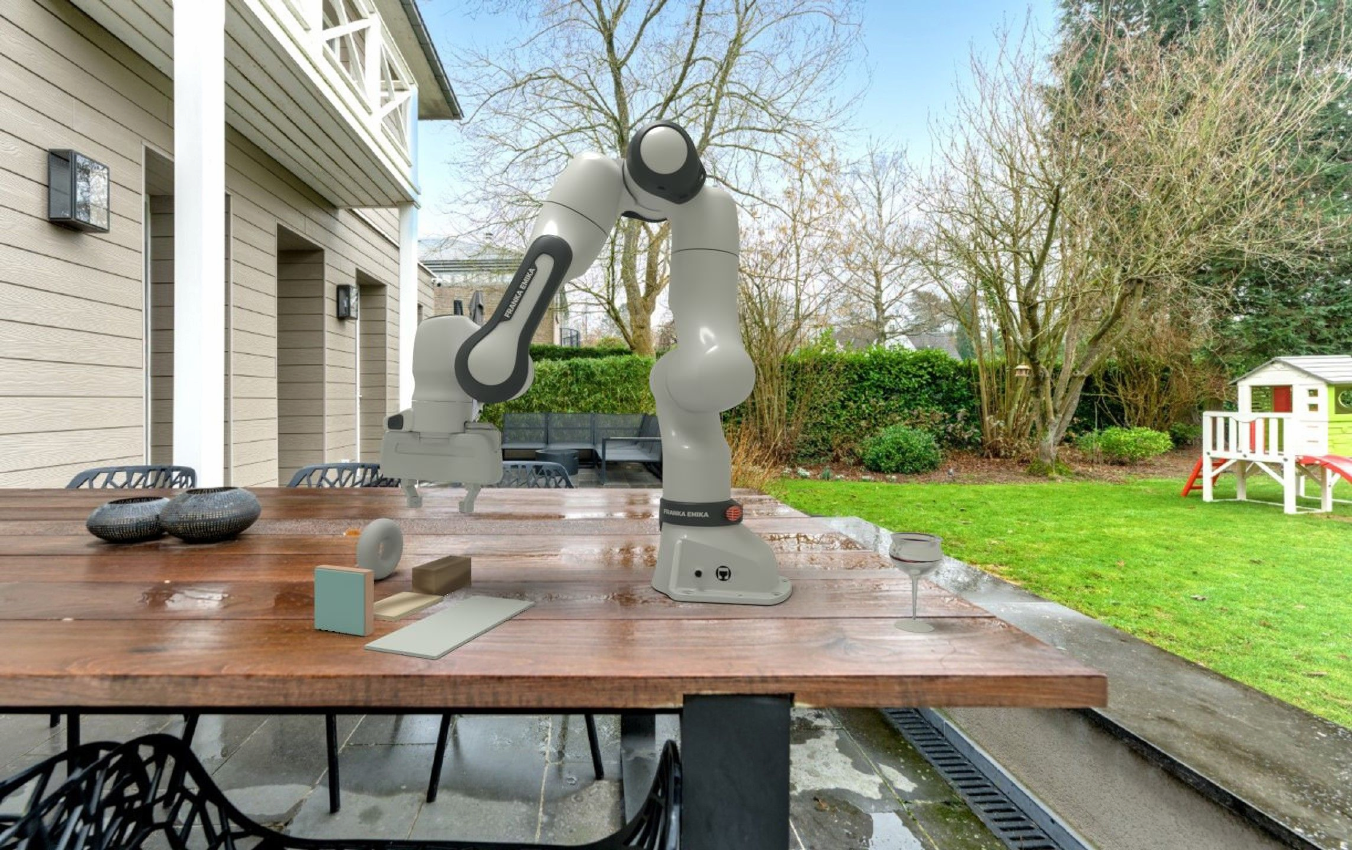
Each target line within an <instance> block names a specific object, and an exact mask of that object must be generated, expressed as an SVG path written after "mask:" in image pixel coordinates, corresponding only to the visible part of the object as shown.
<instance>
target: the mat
mask: <svg viewBox="0 0 1352 850" xmlns="http://www.w3.org/2000/svg"><path fill="white" fill-rule="evenodd" d="M533 605H534V606H535V605H536V602H535V601H530V600H529V601H528V600H519V599H513V598H505V597H504V598H502V597H495V596H484V595H473V596H471V597H468V598H466V599H464V600H462V601H460V602H457V603H455V604H453V605H451V606H449V607H446V608H444V609H442V610H440V611H437V612H435V613H433V614H431V615H429V616H427V617H424V618H422V619H419V620H418V621H415V622H413V623H411V624H409V625H406V626H404V627H402V628H399V629H398V630H395V631H393V632H391V633H388V634H386V635H384V636H381V637H380V638H378V639H375V640H373V641H370V642H368V643H365V645H364V646H363V649H364V650H369V651H377V652H384V653H389V654H395V655H396V654H397V655H402V654H403V656H408V657H414V658H415V657H416V658H424V659H429V660H435V661H436V660H438V659H440V658H441V657H444V656H445V655H447V654H449V653H451V652H452V651H454V650H456V649H458V648H459V647H462V646H463V645H465V644H467V643H468V641H469V642H470V641H472V640H474V639H476V638H477V636H478V637H480V636H481V635H483V634H484V633H485V634H486V633H487V632H488V631H490V630H492V629H494V628H496V627H497V626H499V625H501V624H503V623H505V622H507V621H508V620H510V619H512V618H514V617H516V616H517V615H519V614H521V613H523V612H525V611H526V610H528V609H530V608H532V607H534V606H533ZM524 610H525V611H524ZM522 611H523V612H522ZM520 612H521V613H520ZM515 615H516V616H515ZM513 616H514V617H513ZM511 617H512V618H511ZM506 620H507V621H506ZM504 621H505V622H504ZM486 631H487V632H486ZM475 637H476V638H475ZM473 638H474V639H473ZM457 647H458V648H457Z"/></svg>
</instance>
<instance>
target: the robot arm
mask: <svg viewBox="0 0 1352 850" xmlns="http://www.w3.org/2000/svg"><path fill="white" fill-rule="evenodd" d="M707 176H708V175H707V171H706V168H705V166H704V164H703V163H702V160H701V158H700V156H699V153H698V150H697V148H696V145H695V143H694V140H693V139H692V137H691V135H690V134H689V132H688V131H687V130H686V129H685V128H684V127H682V125H680V124H678V123H677V122H675V121H671V120H666V119H657V120H653V121H651V122H648V123H646V124H644V125H642V126H641V127H640V128H639V129H638V130H637V131H636V132H635V133H634V135H633V136H632V137H631V139H630V141H629V143H628V145H627V149H626V155H625V158H624V157H621V158H611V157H609V156H608V155H606V154H604V153H602V152H598V151H594V150H593V151H592V150H587V151H582V152H580V153H577V154H576V155H575V156H574V157H573V158H572V160H571V161H570V162H569V163H568V164H567V166H566V167H565V168H564V169H563V171H562V172H561V173H560V174H559V176H558V178H557V180H556V182H555V183H554V184H553V186H552V188H551V189H550V191H549V193H548V194H547V197H546V199H545V200H544V202H543V204H542V206H541V207H540V208H541V209H540V210H539V212H538V214H537V217H536V219H535V222H534V225H533V227H532V230H531V233H530V235H529V238H528V242H527V246H526V249H525V251H524V253H523V256H522V260H521V262H520V265H519V266H518V268H517V270H516V272H515V274H514V276H513V277H512V279H511V281H510V282H509V284H508V286H507V288H506V289H505V292H504V293H503V295H502V297H501V299H500V301H499V303H498V304H497V306H496V309H494V312H493V313H492V315H491V317H490V318H489V319H488V321H486V322H485V324H484V325H483V326H480V325H479V324H477V323H475V322H474V321H473V320H472V319H470V318H469V316H467V315H464V314H460V313H459V314H457V313H455V314H452V313H447V314H439V315H438V314H437V315H433V316H430V317H427V318H424V319H423V320H422V321H420V323H419V324H418V326H417V328H416V331H415V335H414V342H413V348H412V349H413V352H412V364H411V365H412V368H411V370H412V371H411V372H412V375H413V379H414V380H413V381H414V389H413V392H412V396H411V407H409V408H406V409H403V410H401V411H398V412H396V413H392V414H390V415H386V416H385V417H383V419H382V429H383V430H384V431H387V432H385V433H384V434H383V435H382V439H381V442H380V451H379V468H380V469H379V470H380V472H381V474H382V475H383V477H384V478H389V479H390V478H391V479H400V486H401V489H402V490H403V493H404V494H405V495H404V496H406V507H407V509H415V510H416V509H421V508H422V507H423V496H422V495H419V494H418V491H417V488H416V486H418V481H429V482H431V481H432V482H446V483H456V484H457V483H461V484H465V485H464V490H465V491H467V493H466V495H465V497H464V499H463V500H460V501H459V500H458V507H459V508H458V512H459V513H461V514H471V513H473V512H474V509H475V507H474V506H475V501H476V499H477V497H478V496H479V494H480V492H481V491H482V485H487V486H488V485H494V484H498V483H500V482H501V480H502V478H503V477H504V465H503V464H504V462H503V454H502V432H501V430H499V428H498V427H497V426H496V425H494V423H492V422H479V421H478V422H477V421H473V400H476V401H477V402H480V403H483V404H490V405H491V404H493V405H495V404H500V403H504V402H507V401H512V400H515V399H517V398H519V397H521V396H522V395H524V394H525V393H527V391H528V390H529V389H530V388H531V386H532V385H533V383H534V380H535V375H536V368H535V364H534V363H535V362H534V361H533V359H532V357H531V355H530V348H531V343H532V341H533V339H534V337H535V334H536V332H537V331H538V329H539V328H540V325H541V324H542V322H543V319H544V318H545V316H546V313H547V312H548V310H549V308H550V306H551V304H552V303H553V300H554V299H555V297H556V295H557V294H559V293H558V292H559V291H560V290H561V289H562V288H563V287H564V286H566V284H567V283H569V282H571V281H573V280H574V279H576V278H581V277H582V276H583V275H585V274H586V273H587V271H588V270H589V269H590V268H591V266H592V265H593V264H594V262H595V261H596V260H597V258H598V257H599V255H600V254H601V252H602V250H603V248H604V247H605V245H606V244H607V241H608V238H609V236H610V234H611V232H612V230H613V229H614V226H615V224H616V223H617V221H618V219H619V218H620V216H622V217H624V218H628V219H632V220H633V219H634V220H638V221H641V222H645V223H648V224H649V223H650V224H660V223H664V222H666V221H668V223H669V227H670V230H671V231H670V232H671V233H670V234H671V245H670V246H671V249H670V260H669V261H670V263H669V277H668V278H669V280H668V298H667V304H668V308H669V310H670V311H671V314H672V317H673V320H674V321H673V322H674V326H675V328H674V329H675V335H676V343H677V345H676V348H673V349H670V350H668V351H667V352H665V353H664V354H663V355H662V356H660V358H659V359H657V361H656V362H655V363H654V364H653V366H652V367H651V369H650V374H649V377H648V378H649V381H648V383H649V388H650V391H651V393H652V395H653V398H654V402H655V409H656V416H657V421H658V426H659V433H660V438H661V447H662V450H661V451H662V496H661V497H660V499H659V508H658V525H659V526H658V527H659V532H660V537H659V538H660V539H659V540H660V541H659V547H658V555H657V561H656V565H655V570H654V573H653V576H652V579H651V583H650V584H651V586H652V588H654V589H655V590H656V591H659V592H661V593H663V594H665V595H668V597H669V598H670V599H672V600H674V601H678V602H679V601H680V602H700V603H702V602H703V603H704V602H705V603H720V604H721V603H722V604H743V605H744V604H746V605H747V604H748V605H765V606H766V605H767V606H769V605H776V604H780V603H781V602H784V601H786V600H787V599H789V597H790V596H791V595H792V592H793V584H792V582H791V580H790V579H789V578H787V577H785V576H782V575H779V568H778V561H777V557H776V553H775V551H774V549H773V547H771V545H770V544H768V543H767V542H766V541H764V540H763V539H762V538H761V537H759V536H758V535H757V534H756V533H755V532H753V531H752V530H751V529H750V528H749V527H748V526H746V525H745V524H744V523H743V522H744V520H743V519H744V510H745V508H744V507H745V505H744V503H743V502H741V503H739V502H738V501H736V500H734V499H733V498H732V496H731V495H732V493H731V492H732V450H731V447H730V444H729V442H728V441H727V440H726V437H725V434H724V431H723V427H722V422H721V415H720V413H723V412H726V411H728V410H731V409H732V408H735V407H737V406H738V405H741V404H742V403H744V401H746V400H747V399H748V398H749V396H750V395H751V394H752V391H753V389H754V387H755V383H756V368H755V365H754V364H755V363H754V362H753V360H752V358H751V356H750V354H749V353H748V352H747V351H746V349H745V348H746V347H745V346H744V342H743V336H742V331H741V325H740V320H739V312H738V291H739V289H738V288H739V271H740V270H739V268H740V267H739V266H740V226H739V225H740V224H739V217H738V211H737V210H738V208H737V204H736V201H735V199H734V197H733V196H732V195H731V194H730V193H729V192H728V191H726V190H724V189H722V188H720V187H716V186H712V185H706V184H705V182H706V181H707V180H706V179H707Z"/></svg>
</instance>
